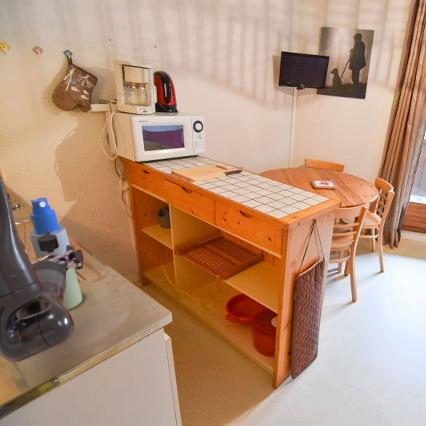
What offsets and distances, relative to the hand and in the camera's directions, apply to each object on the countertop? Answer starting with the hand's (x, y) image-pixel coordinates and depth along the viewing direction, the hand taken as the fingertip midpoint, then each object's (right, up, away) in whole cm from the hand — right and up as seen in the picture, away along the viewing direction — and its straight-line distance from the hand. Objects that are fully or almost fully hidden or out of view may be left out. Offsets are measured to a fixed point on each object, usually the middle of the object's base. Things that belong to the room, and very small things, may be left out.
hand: (47, 252), depth 81 cm
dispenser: (-4, -16, +11) cm, 20 cm away
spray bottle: (-18, -9, +25) cm, 32 cm away
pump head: (-4, 0, +5) cm, 7 cm away
